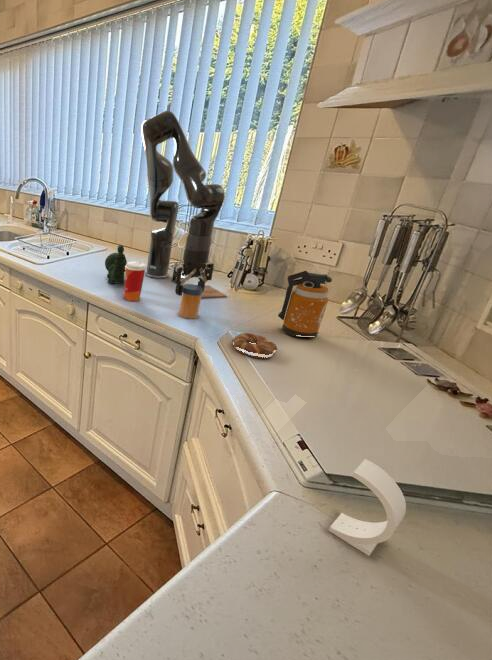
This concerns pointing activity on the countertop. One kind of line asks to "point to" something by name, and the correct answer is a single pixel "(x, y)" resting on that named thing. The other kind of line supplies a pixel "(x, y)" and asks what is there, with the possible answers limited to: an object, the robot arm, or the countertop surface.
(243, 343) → the pretzel
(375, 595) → the countertop surface
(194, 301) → the jar
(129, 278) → the paper cup
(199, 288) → the lid
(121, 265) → the toy figurine
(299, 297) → the canister
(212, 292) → the mat
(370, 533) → the headphone stand
